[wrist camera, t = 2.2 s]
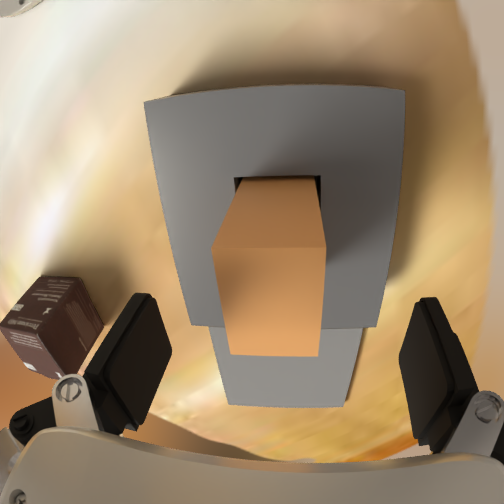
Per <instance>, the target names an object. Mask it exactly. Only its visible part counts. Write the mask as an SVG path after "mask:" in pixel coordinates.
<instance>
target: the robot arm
mask: <svg viewBox="0 0 504 504" xmlns="http://www.w3.org/2000/svg"><path fill="white" fill-rule="evenodd" d="M41 1H42V0H0V17H13V16H16V15H19V14H22V13H24V12H26V11H28V10H29V9H31V8H33V7H34V6H36V5H37V4H38V3H40V2H41ZM171 355H172V347H171V344H170V341H169V338H168V335H167V333H166V330H165V327H164V324H163V321H162V318H161V315H160V311H159V308H158V305H157V302H156V299H155V298H152V296H151V295H150V294H147V293H135V294H134V295H133V296H132V297H131V299H130V300H129V302H128V303H127V305H126V306H125V308H124V309H123V311H122V312H121V314H120V315H119V317H118V318H117V320H116V322H115V323H114V325H113V326H112V328H111V329H110V331H109V332H108V334H107V336H106V337H105V339H104V340H103V342H102V343H101V345H100V347H99V348H98V350H97V351H96V353H95V355H94V356H93V358H92V360H91V361H90V363H89V365H88V366H87V368H86V370H85V371H84V372H85V373H84V375H83V376H80V375H77V374H69V375H66V376H64V377H62V378H60V379H59V380H58V381H57V382H56V383H55V385H54V387H53V389H52V396H51V397H49V398H47V399H44V400H42V401H40V402H37V403H35V404H32V405H30V406H28V407H25V408H23V409H21V410H19V411H17V412H16V413H15V414H14V415H13V416H12V418H11V420H10V424H9V429H7V428H6V427H5V428H3V429H2V430H1V431H0V504H504V401H503V400H502V399H501V397H500V396H499V395H497V394H496V393H494V392H491V391H481V392H479V390H478V387H477V384H476V381H475V379H474V376H473V373H472V371H471V368H470V365H469V363H468V360H467V358H466V355H465V353H464V350H463V348H462V345H461V343H460V341H459V338H458V336H457V335H456V334H455V333H454V332H453V331H452V329H451V327H450V324H449V322H448V320H447V318H446V315H445V313H444V311H443V309H442V307H441V305H440V303H439V301H438V299H437V298H436V297H427V298H421V299H420V301H419V302H416V303H415V306H414V309H413V313H412V316H411V319H410V323H409V326H408V329H407V332H406V335H405V338H404V341H403V344H402V347H401V350H400V353H399V365H400V369H401V374H402V379H403V383H404V388H405V393H406V398H407V403H408V408H409V414H410V419H411V425H412V431H413V437H414V438H415V439H418V443H419V446H423V445H429V446H430V450H431V453H430V455H423V456H415V457H407V458H399V459H389V460H377V461H365V462H347V463H286V462H268V461H255V460H244V459H235V458H226V457H219V456H212V455H206V454H199V453H193V452H188V451H182V450H177V449H172V448H167V447H162V446H158V445H154V444H149V443H145V442H141V441H137V440H133V439H129V438H125V437H123V434H122V433H123V431H124V428H126V429H129V430H133V431H137V429H138V427H139V425H142V424H143V423H144V421H145V418H146V416H147V413H148V411H149V408H150V406H151V403H152V401H153V399H154V396H155V394H156V391H157V389H158V386H159V384H160V382H161V379H162V377H163V374H164V372H165V370H166V367H167V365H168V362H169V360H170V358H171Z"/></svg>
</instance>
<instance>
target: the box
mask: <svg viewBox="0 0 504 504" xmlns="http://www.w3.org/2000/svg"><path fill="white" fill-rule="evenodd" d="M103 328H104V326H103V324H102V322H101V320H100V317H99V316H98V314H97V312H96V310H95V308H94V306H93V304H92V302H91V300H90V298H89V296H88V293H87V291H86V289H85V287H84V285H83V283H82V281H81V279H79V278H71V277H39V278H38V279H37V280H36V281H35V282H34V283H33V285H32V286H31V287H30V288H29V289H28V290H27V291H26V293H25V294H24V295H23V296H22V297H21V298H20V299H19V301H18V302H17V303H16V304H15V305H14V307H13V308H12V309H11V310H10V312H9V313H8V314H7V315H6V317H5V318H4V319H3V321H2V322H1V323H0V330H1V332H2V333H3V335H4V336H5V338H6V339H7V341H8V342H9V343H10V345H11V346H12V347H13V349H14V350H15V352H16V353H17V355H18V356H19V357H20V358H21V360H22V361H23V363H24V364H25V365H26V366H27V367H28V369H29V370H31V371H34V372H37V373H39V374H42V375H44V376H46V377H48V378H52V379H58V380H59V379H60V378H62V377H64V376H66V375H69V374H77V373H78V371H79V369H80V367H81V365H82V363H83V362H84V360H85V358H86V357H87V355H88V353H89V352H90V350H91V348H92V346H93V345H94V343H95V341H96V340H97V338H98V336H99V335H100V333H101V332H102V330H103Z"/></svg>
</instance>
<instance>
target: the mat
mask: <svg viewBox="0 0 504 504" xmlns="http://www.w3.org/2000/svg"><path fill="white" fill-rule="evenodd" d="M362 330H363V328H329V329H321V331H320V341H319V351H318V356H312V357H297V356H253V355H232V354H230V349H229V344H228V339H227V333H226V328H225V327H214V326H209V331H210V335H211V339H212V343H213V347H214V351H215V355H216V359H217V363H218V367H219V371H220V375H221V378H222V382H223V386H224V389H225V393H226V397H227V400H228V404H229V405H242V406H258V407H284V408H327V407H343V406H344V402H345V399H346V395H347V392H348V388H349V384H350V381H351V377H352V373H353V369H354V365H355V361H356V357H357V353H358V348H359V344H360V340H361V335H362Z"/></svg>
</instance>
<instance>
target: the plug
mask: <svg viewBox="0 0 504 504" xmlns="http://www.w3.org/2000/svg"><path fill="white" fill-rule="evenodd" d="M211 251H212V257H213V262H214V268H215V274H216V280H217V285H218V291H219V296H220V302H221V307H222V312H223V318H224V323H225V328H226V333H227V339H228V344H229V349H230V354H232V355H253V356H297V357H312V356H318V351H319V341H320V331H321V320H322V308H323V295H324V280H325V263H326V242H325V236H324V230H323V224H322V218H321V212H320V207H319V201H318V196H317V190H316V185H315V180H314V175H286V176H252V177H243V178H242V181H241V183H240V185H239V187H238V189H237V191H236V194H235V196H234V198H233V200H232V202H231V205H230V207H229V209H228V211H227V213H226V216H225V218H224V220H223V222H222V225H221V227H220V229H219V231H218V234H217V236H216V238H215V240H214V243H213V245H212V247H211Z"/></svg>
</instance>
